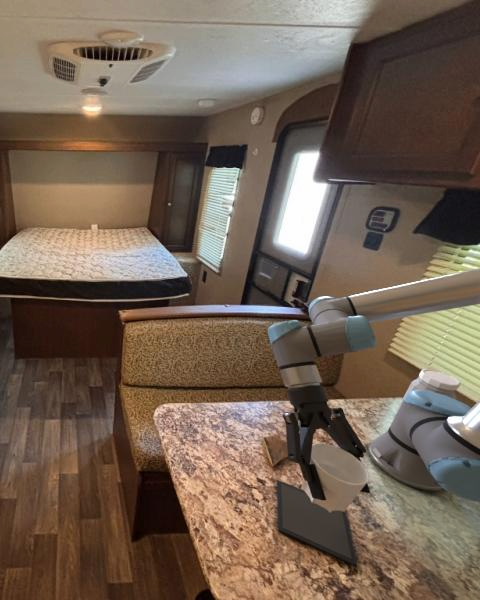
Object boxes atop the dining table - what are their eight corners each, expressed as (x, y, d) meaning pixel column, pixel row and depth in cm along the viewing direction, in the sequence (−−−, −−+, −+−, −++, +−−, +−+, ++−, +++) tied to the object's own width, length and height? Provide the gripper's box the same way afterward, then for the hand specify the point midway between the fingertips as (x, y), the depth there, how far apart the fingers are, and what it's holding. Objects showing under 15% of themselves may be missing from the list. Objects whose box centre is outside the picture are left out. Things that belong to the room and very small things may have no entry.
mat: (343, 508, 76) (344, 506, 76) (356, 567, 64) (357, 565, 64) (276, 481, 82) (277, 479, 82) (278, 531, 71) (279, 529, 70)
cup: (363, 516, 66) (382, 483, 62) (318, 518, 65) (335, 486, 61) (326, 473, 75) (340, 442, 71) (286, 475, 74) (299, 444, 70)
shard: (271, 468, 85) (273, 463, 85) (246, 447, 92) (248, 443, 91) (295, 454, 90) (297, 449, 89) (270, 435, 96) (272, 430, 96)
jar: (444, 436, 97) (474, 389, 90) (406, 429, 100) (432, 383, 93) (422, 414, 106) (448, 370, 99) (388, 408, 108) (410, 364, 101)
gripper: (331, 384, 79) (369, 484, 71) (250, 392, 75) (280, 499, 67) (359, 380, 72) (405, 491, 64) (272, 388, 69) (308, 507, 60)
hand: (341, 495), depth 66 cm, fingers closed on cup, 10 cm apart
